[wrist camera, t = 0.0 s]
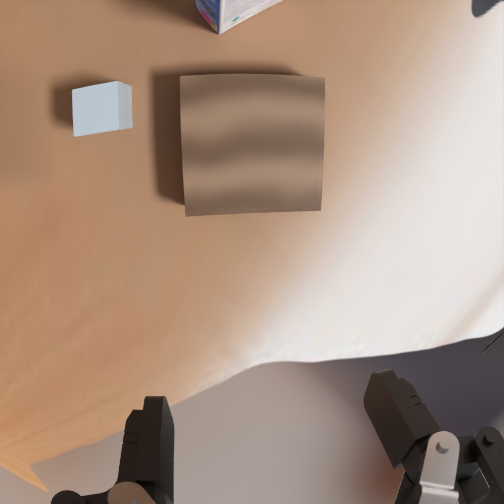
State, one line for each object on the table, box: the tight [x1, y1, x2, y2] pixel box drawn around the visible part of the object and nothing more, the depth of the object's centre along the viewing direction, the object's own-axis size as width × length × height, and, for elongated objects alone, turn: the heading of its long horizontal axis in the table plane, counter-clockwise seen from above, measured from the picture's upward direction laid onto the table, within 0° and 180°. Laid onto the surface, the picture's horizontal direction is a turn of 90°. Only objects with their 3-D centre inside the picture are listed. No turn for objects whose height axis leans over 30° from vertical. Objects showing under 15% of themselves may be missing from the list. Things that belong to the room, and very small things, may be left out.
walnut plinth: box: [180, 74, 325, 217], centre depth 33 cm, size 15×15×4 cm
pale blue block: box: [72, 81, 133, 137], centre depth 28 cm, size 5×5×6 cm
